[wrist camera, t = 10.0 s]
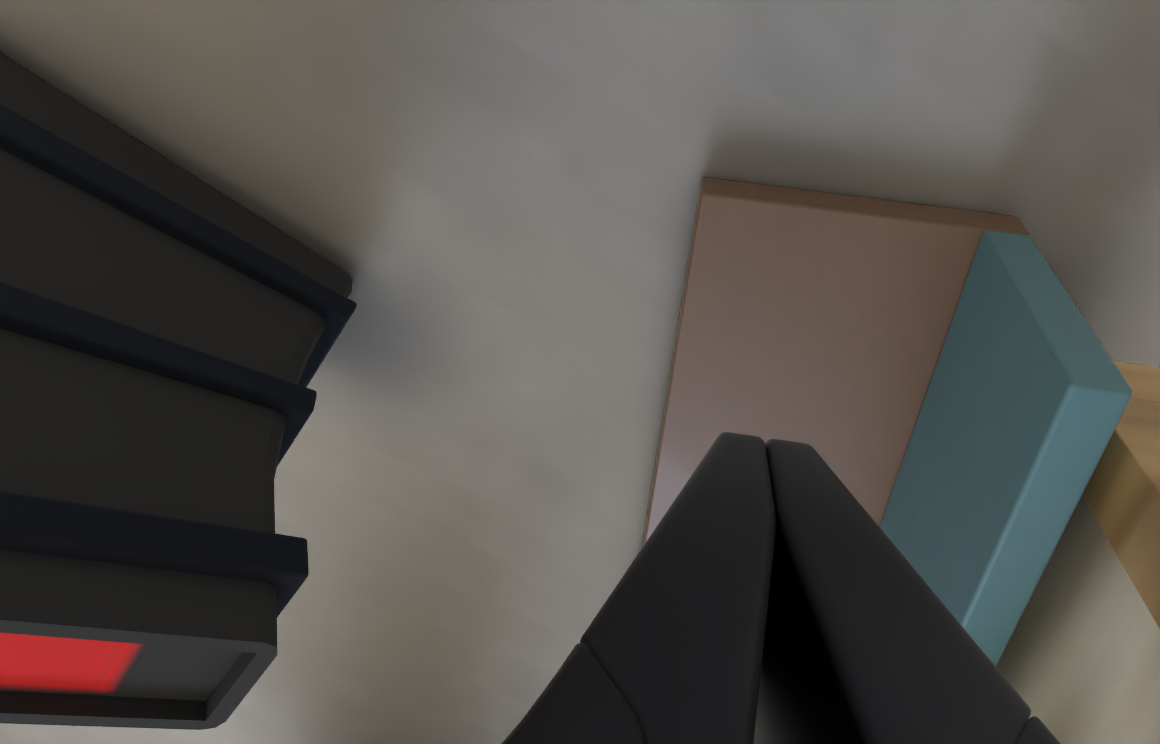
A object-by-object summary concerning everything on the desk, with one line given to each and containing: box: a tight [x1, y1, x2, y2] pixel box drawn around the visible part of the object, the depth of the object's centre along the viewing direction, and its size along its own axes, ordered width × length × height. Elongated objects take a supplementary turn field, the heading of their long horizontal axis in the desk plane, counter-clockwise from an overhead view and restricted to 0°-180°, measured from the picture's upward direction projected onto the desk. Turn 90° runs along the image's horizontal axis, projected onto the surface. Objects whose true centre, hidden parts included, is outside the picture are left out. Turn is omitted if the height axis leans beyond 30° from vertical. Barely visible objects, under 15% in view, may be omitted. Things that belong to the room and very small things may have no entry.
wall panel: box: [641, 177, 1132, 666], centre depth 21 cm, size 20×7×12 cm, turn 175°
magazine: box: [0, 53, 357, 730], centre depth 18 cm, size 4×13×15 cm, turn 56°
